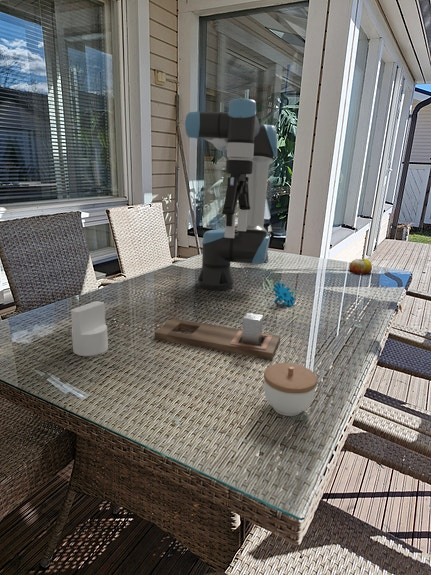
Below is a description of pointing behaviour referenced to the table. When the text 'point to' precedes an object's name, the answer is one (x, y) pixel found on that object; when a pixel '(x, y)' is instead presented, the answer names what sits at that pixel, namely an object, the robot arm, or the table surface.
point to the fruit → (360, 266)
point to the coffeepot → (269, 242)
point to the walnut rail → (217, 338)
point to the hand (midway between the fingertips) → (235, 234)
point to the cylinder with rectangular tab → (89, 329)
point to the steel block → (252, 329)
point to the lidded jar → (289, 388)
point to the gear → (284, 294)
